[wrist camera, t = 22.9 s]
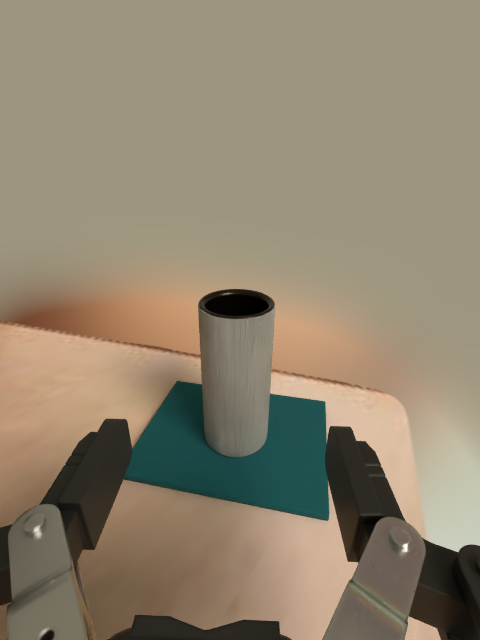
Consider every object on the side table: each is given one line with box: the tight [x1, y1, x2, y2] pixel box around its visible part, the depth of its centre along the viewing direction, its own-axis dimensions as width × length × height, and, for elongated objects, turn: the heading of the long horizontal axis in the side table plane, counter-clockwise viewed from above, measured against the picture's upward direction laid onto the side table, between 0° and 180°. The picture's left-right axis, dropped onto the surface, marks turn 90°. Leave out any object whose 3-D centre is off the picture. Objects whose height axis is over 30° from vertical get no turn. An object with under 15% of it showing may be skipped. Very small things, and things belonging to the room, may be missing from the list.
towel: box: [124, 381, 329, 521], centre depth 24 cm, size 13×10×1 cm
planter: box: [198, 289, 275, 457], centre depth 21 cm, size 4×4×10 cm
